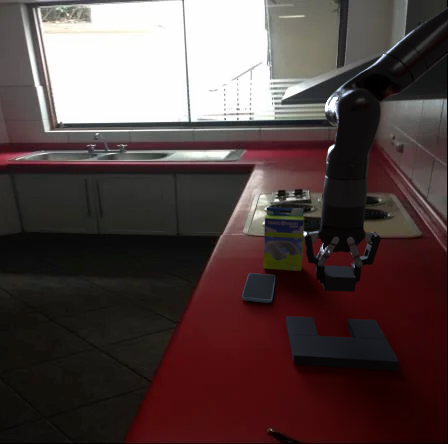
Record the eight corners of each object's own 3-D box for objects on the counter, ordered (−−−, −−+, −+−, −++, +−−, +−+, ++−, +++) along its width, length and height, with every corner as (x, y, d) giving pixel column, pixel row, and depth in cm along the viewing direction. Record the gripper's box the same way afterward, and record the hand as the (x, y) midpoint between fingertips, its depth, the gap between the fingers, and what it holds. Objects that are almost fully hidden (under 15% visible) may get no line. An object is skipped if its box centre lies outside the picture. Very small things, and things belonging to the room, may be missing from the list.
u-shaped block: (374, 328, 88) (375, 319, 87) (398, 371, 75) (399, 361, 74) (285, 324, 91) (286, 316, 91) (293, 364, 78) (294, 355, 78)
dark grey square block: (347, 279, 85) (349, 265, 84) (354, 291, 80) (356, 277, 79) (319, 278, 86) (320, 265, 85) (324, 290, 81) (325, 276, 80)
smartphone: (275, 275, 112) (272, 300, 99) (275, 278, 113) (271, 304, 99) (248, 272, 115) (241, 297, 101) (248, 276, 115) (241, 301, 101)
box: (263, 269, 119) (264, 211, 113) (264, 263, 122) (265, 206, 117) (302, 272, 115) (305, 212, 110) (302, 266, 119) (304, 207, 114)
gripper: (306, 205, 76) (301, 289, 81) (392, 205, 73) (381, 292, 78) (300, 195, 83) (296, 273, 88) (379, 194, 80) (370, 275, 85)
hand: (336, 281), depth 83 cm, fingers closed on dark grey square block, 5 cm apart
